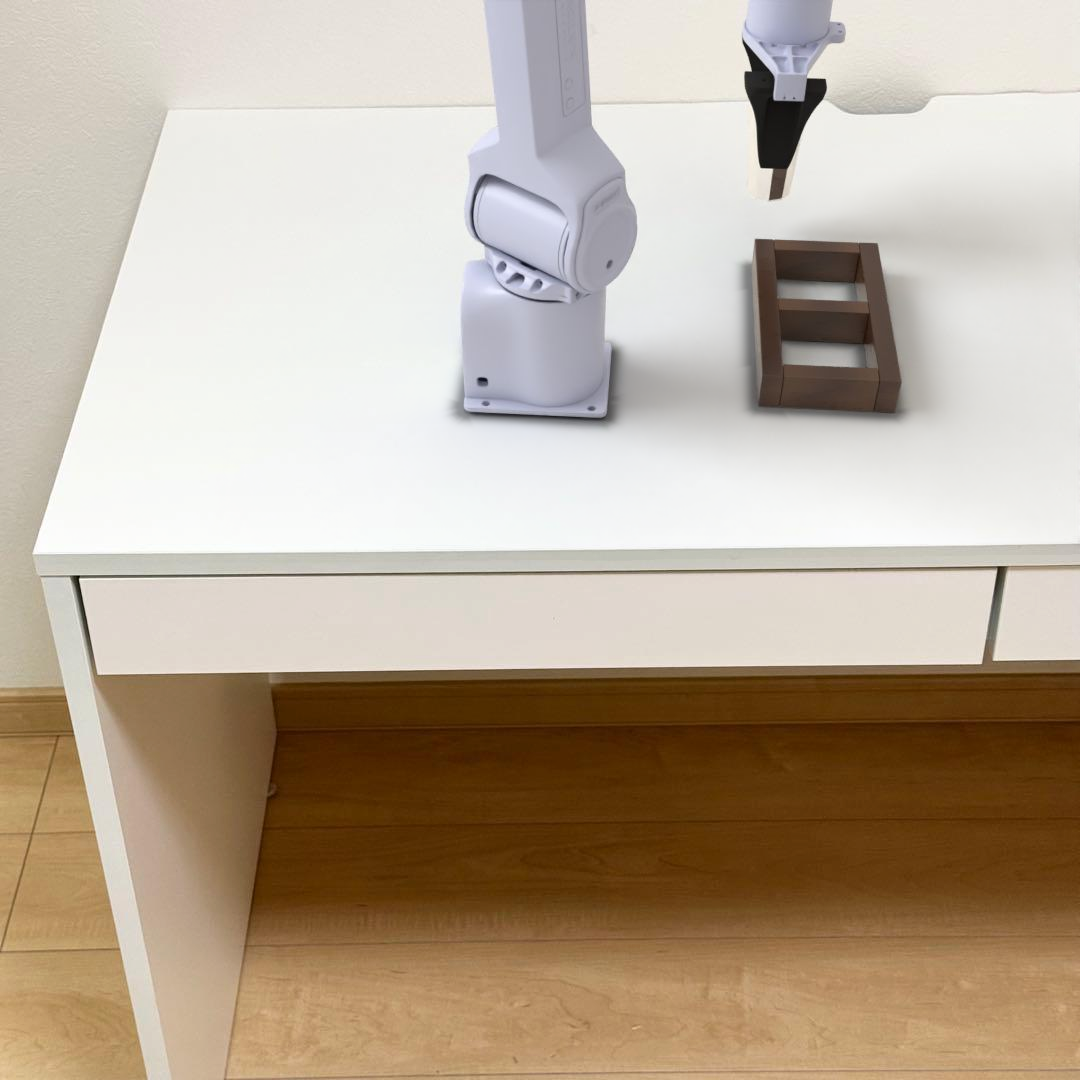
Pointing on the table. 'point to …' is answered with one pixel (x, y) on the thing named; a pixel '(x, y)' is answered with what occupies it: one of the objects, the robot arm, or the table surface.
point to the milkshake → (767, 171)
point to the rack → (823, 327)
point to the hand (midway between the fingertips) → (772, 147)
